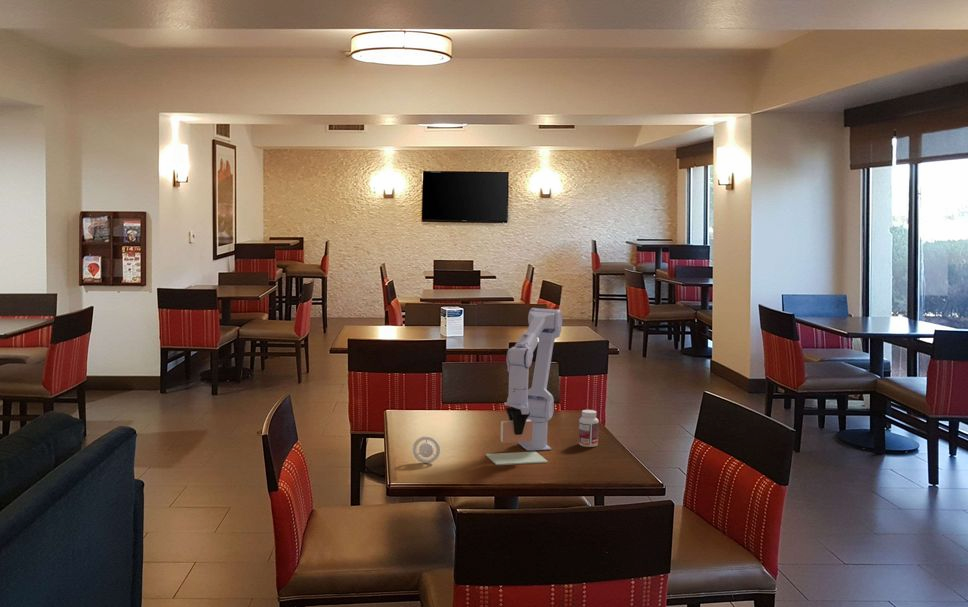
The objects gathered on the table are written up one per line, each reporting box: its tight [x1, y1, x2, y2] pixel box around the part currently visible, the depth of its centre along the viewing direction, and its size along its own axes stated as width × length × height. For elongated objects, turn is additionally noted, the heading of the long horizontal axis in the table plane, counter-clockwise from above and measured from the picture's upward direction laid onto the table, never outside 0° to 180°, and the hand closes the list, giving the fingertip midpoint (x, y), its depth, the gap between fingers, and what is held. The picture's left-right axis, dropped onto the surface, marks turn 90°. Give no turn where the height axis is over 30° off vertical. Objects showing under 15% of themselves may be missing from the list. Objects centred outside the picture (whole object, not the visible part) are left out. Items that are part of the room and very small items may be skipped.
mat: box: [485, 451, 549, 466], centre depth 270 cm, size 11×16×1 cm
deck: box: [500, 420, 532, 444], centre depth 266 cm, size 2×9×6 cm, turn 106°
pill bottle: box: [578, 409, 600, 448], centre depth 288 cm, size 6×6×11 cm
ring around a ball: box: [412, 436, 441, 464], centre depth 261 cm, size 8×6×8 cm
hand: (516, 433), depth 266 cm, fingers closed on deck, 2 cm apart
